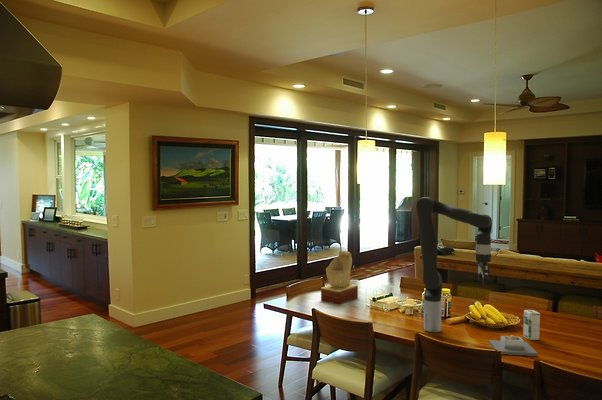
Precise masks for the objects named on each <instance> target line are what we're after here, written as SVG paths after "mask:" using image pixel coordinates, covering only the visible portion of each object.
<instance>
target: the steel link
mask: <svg viewBox="0 0 602 400" xmlns="http://www.w3.org/2000/svg"><path fill="white" fill-rule="evenodd" d="M510 336H511V335H500V341H501V345H502V346H503V347H504V348H513V349H524V342H525V340H523V338H522V337H521V336H515V335H513V336H514V337H515V340H511V339H510Z"/></svg>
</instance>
